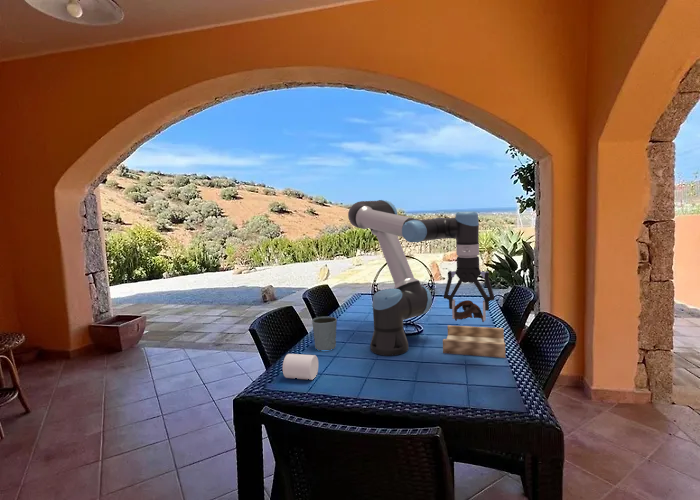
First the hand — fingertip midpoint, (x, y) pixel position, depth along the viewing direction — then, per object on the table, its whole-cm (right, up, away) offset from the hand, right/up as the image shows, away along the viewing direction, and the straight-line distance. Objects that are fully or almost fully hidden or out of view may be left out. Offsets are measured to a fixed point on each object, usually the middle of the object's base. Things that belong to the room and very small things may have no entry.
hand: (468, 318), depth 134 cm
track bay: (+7, -14, +15) cm, 21 cm away
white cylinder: (-58, -19, -3) cm, 61 cm away
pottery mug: (0, -1, 0) cm, 1 cm away
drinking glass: (-52, -16, +23) cm, 59 cm away
